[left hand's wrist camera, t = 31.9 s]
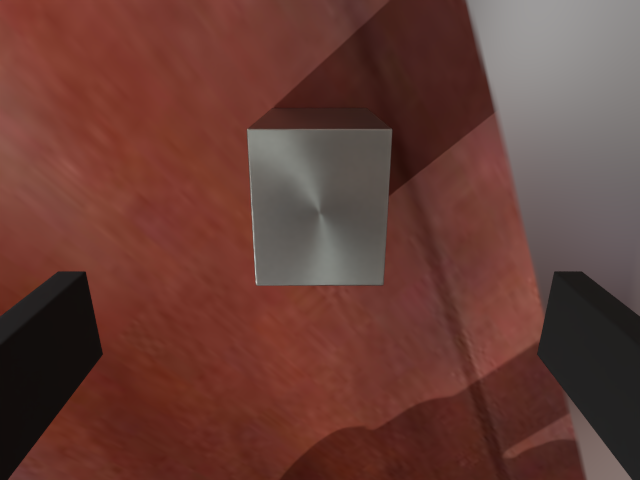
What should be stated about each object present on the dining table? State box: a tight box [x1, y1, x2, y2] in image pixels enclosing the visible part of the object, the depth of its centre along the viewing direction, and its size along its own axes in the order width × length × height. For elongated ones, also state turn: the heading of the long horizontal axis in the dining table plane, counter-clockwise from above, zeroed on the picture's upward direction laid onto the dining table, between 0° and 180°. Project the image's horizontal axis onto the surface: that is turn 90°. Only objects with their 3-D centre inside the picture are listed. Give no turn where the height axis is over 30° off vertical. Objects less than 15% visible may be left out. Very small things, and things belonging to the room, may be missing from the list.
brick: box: [247, 108, 392, 285], centre depth 27 cm, size 7×8×12 cm
